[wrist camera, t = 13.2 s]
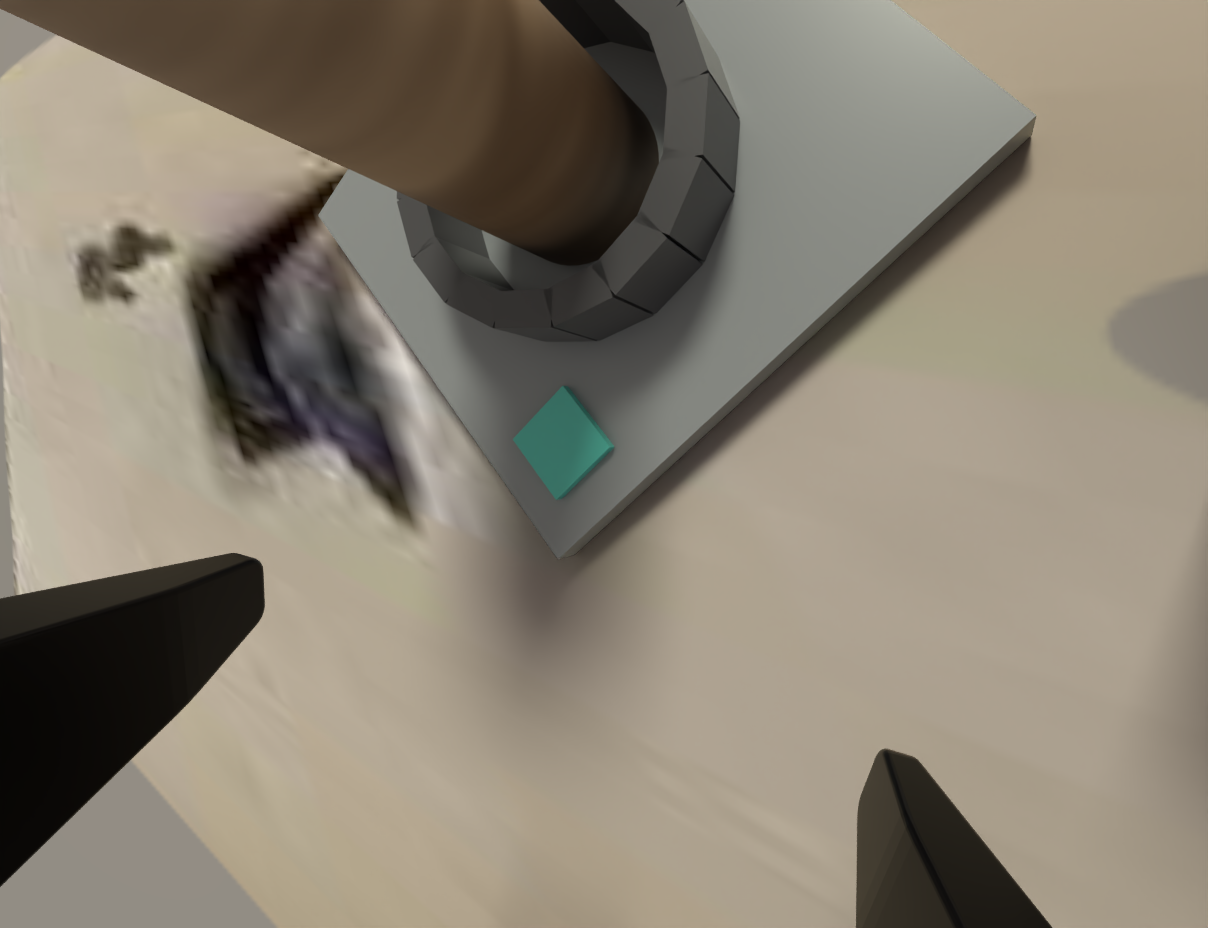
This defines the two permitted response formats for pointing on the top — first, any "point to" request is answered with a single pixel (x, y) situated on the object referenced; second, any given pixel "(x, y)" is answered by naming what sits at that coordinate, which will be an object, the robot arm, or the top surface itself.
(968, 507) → the top surface
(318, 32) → the plug
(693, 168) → the socket
